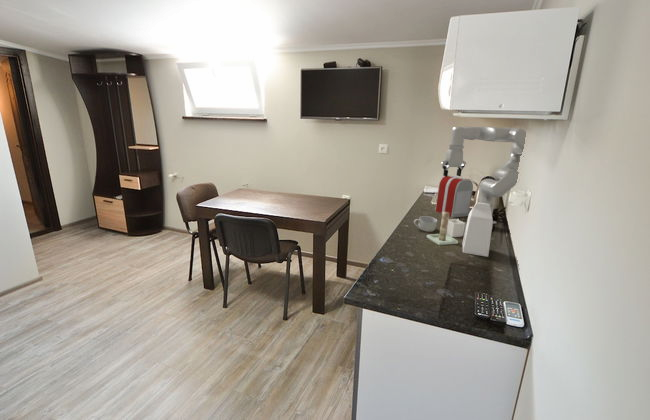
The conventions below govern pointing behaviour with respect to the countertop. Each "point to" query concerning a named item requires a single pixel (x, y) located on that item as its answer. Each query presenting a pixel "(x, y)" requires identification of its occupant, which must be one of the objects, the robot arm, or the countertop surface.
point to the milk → (478, 230)
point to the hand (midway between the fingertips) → (451, 176)
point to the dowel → (444, 226)
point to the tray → (448, 241)
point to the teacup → (426, 223)
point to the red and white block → (454, 196)
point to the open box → (455, 228)
